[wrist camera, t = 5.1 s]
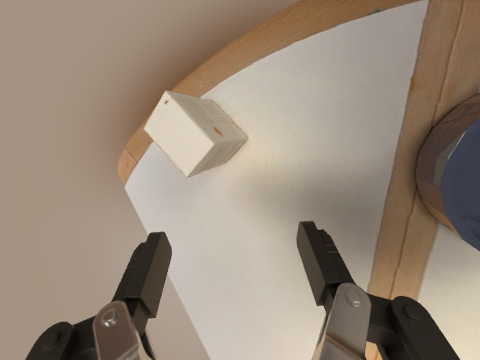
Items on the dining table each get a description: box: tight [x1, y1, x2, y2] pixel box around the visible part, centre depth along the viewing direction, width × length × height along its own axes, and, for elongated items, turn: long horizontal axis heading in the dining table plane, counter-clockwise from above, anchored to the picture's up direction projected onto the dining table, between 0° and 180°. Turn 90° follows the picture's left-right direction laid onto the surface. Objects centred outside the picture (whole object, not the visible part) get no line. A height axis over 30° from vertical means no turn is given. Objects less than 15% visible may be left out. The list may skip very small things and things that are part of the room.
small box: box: [144, 91, 248, 178], centre depth 26 cm, size 8×6×10 cm
